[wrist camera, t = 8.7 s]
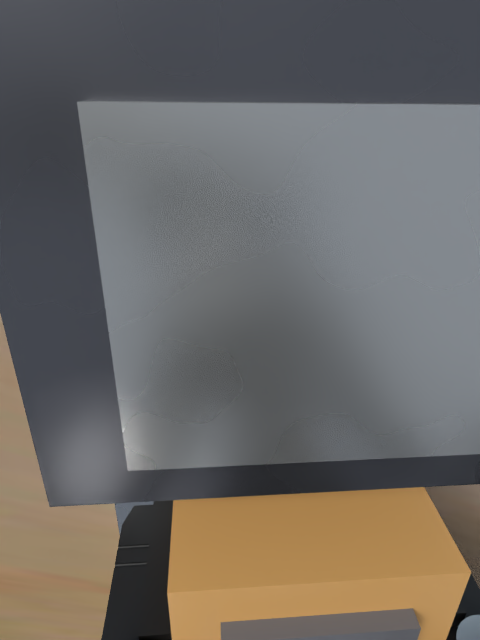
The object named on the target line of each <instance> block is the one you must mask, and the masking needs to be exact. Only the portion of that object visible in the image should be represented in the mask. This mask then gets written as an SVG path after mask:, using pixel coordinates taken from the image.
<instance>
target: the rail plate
mask: <svg viewBox="0 0 480 640" xmlns="http://www.w3.org/2000/svg"><path fill="white" fill-rule="evenodd" d="M0 313H1V317H2V321H3V325H4V329H5V333H6V337H7V341H8V345H9V349H10V352H11V356H12V360H13V364H14V368H15V372H16V376H17V380H18V384H19V388H20V392H21V396H22V400H23V404H24V408H25V412H26V415H27V419H28V423H29V427H30V431H31V435H32V439H33V443H34V447H35V451H36V455H37V459H38V463H39V467H40V471H41V475H42V478H43V482H44V486H45V490H46V494H47V498H48V502H49V506H50V507H55V506H74V505H93V504H112V503H115V508H116V515H117V521H118V527H119V533H120V534H121V528H122V524H123V522H124V521H125V519H126V518H127V516H128V514H129V513H130V511H131V510H132V508H133V507H134V506H136V505H153V502H154V501H168V500H187V499H206V498H225V497H244V496H263V495H281V494H300V493H319V492H338V491H357V490H376V489H395V488H413V487H432V486H451V485H470V484H480V0H0Z"/></svg>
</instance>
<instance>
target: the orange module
mask: <svg viewBox="0 0 480 640" xmlns="http://www.w3.org/2000/svg"><path fill="white" fill-rule="evenodd" d="M470 575H471V571H470V569H469V567H468V565H467V564H466V562H465V560H464V558H463V556H462V555H461V553H460V551H459V549H458V547H457V546H456V544H455V542H454V540H453V538H452V537H451V535H450V533H449V531H448V529H447V528H446V526H445V524H444V522H443V520H442V518H441V517H440V515H439V513H438V511H437V509H436V508H435V506H434V504H433V502H432V500H431V499H430V497H429V495H428V493H427V491H426V490H425V488H424V487H413V488H395V489H376V490H357V491H338V492H319V493H300V494H281V495H263V496H244V497H225V498H206V499H187V500H173V513H172V528H171V543H170V558H169V573H168V588H167V596H168V606H169V616H170V626H171V636H172V640H446V639H447V636H448V633H449V631H450V628H451V625H452V623H453V620H454V617H455V615H456V612H457V609H458V607H459V604H460V601H461V599H462V596H463V593H464V591H465V588H466V585H467V583H468V580H469V577H470Z"/></svg>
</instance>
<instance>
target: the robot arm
mask: <svg viewBox="0 0 480 640" xmlns="http://www.w3.org/2000/svg"><path fill="white" fill-rule="evenodd" d="M172 513H173V500H168V501H154V502H153V505H136V506H134V507H133V508H132V510H131V511H130V513H129V514H128V516H127V518H126V519H125V521H124V522H123V524H122V528H121V534H120V539H119V545H118V550H117V556H116V562H115V568H114V573H113V579H112V584H111V590H110V595H109V601H108V607H107V612H106V618H105V623H104V629H103V635H102V639H101V640H172V636H171V626H170V616H169V606H168V596H167V588H168V573H169V558H170V543H171V528H172ZM446 640H480V589H479V587H478V585H477V583H476V582H475V580H474V578H473V576H472V574H471V575H470V577H469V580H468V583H467V585H466V588H465V591H464V593H463V596H462V599H461V601H460V604H459V607H458V609H457V612H456V615H455V617H454V620H453V623H452V625H451V628H450V631H449V633H448V636H447V639H446Z"/></svg>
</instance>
